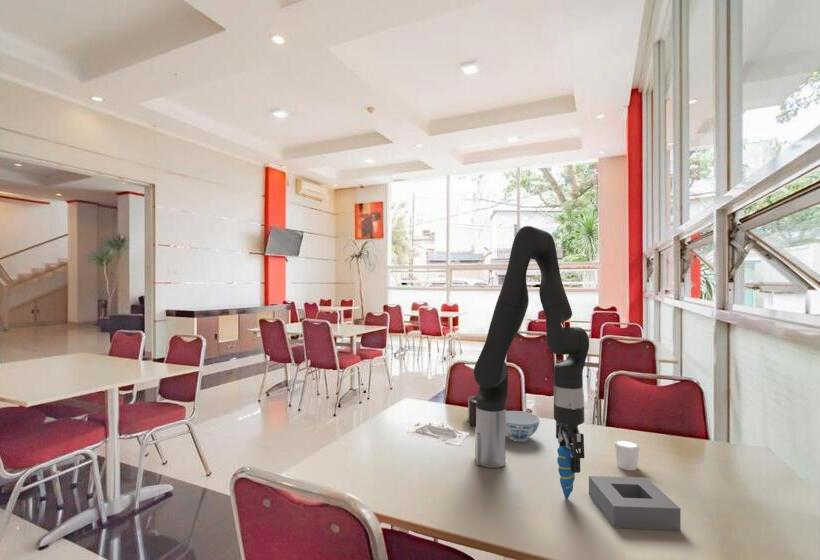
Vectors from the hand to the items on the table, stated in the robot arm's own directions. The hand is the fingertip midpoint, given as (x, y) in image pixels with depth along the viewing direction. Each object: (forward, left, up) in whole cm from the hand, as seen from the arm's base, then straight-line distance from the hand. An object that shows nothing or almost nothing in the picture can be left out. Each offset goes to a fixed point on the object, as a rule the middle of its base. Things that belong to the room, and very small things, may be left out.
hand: (569, 464), depth 108 cm
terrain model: (-34, +43, -10) cm, 56 cm away
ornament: (-1, 0, -9) cm, 9 cm away
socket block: (+13, -5, -9) cm, 17 cm away
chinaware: (-5, +42, -9) cm, 43 cm away
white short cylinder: (+24, +21, -9) cm, 33 cm away
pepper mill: (-16, +61, -9) cm, 63 cm away
